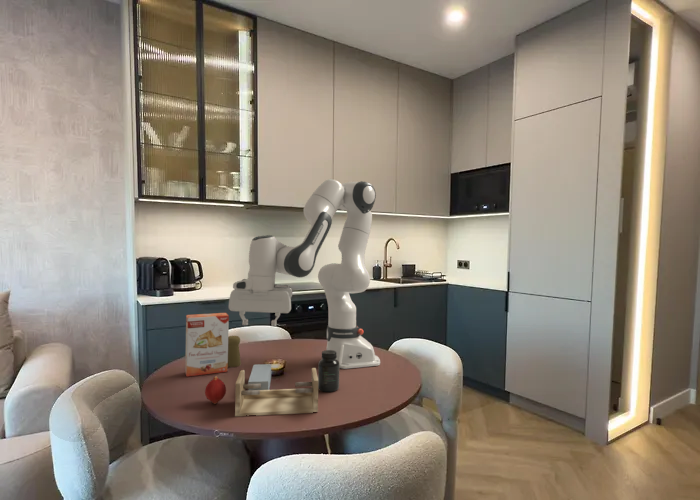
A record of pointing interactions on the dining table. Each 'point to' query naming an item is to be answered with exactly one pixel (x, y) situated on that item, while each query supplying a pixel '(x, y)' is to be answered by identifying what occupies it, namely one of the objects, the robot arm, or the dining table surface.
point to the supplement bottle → (328, 372)
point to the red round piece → (215, 390)
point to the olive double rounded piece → (233, 351)
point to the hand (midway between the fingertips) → (259, 325)
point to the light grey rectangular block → (260, 376)
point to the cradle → (275, 398)
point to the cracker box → (206, 344)
